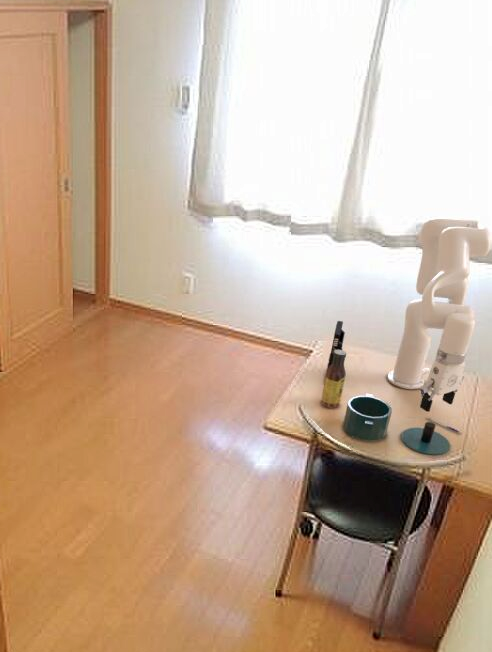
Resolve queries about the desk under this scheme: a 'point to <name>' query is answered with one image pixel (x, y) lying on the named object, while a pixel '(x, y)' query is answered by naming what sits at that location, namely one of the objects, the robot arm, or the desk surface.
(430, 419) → the ballpoint pen
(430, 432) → the lid
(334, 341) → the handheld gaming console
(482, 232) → the robot arm
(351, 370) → the desk surface
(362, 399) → the pot
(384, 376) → the desk surface
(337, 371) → the sauce bottle
